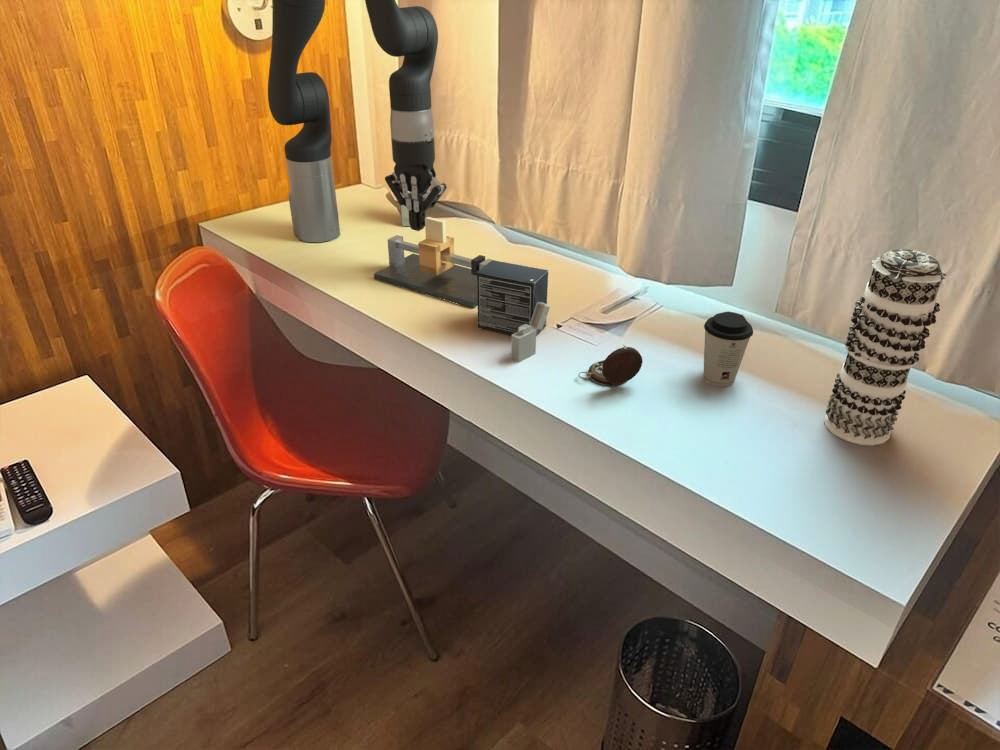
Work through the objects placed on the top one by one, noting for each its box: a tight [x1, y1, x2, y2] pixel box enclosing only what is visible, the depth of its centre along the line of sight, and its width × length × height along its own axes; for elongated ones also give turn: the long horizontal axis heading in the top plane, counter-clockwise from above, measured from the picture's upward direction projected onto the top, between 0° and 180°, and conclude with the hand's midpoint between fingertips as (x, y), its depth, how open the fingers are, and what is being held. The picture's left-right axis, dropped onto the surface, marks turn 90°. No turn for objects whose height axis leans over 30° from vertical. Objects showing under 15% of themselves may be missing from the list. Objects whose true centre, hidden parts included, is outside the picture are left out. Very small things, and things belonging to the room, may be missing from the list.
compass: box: [578, 344, 644, 387], centre depth 107 cm, size 8×8×7 cm
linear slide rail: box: [373, 234, 493, 309], centre depth 137 cm, size 23×12×7 cm, turn 58°
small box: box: [476, 259, 549, 337], centre depth 121 cm, size 11×6×10 cm, turn 65°
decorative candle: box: [823, 248, 947, 447], centre depth 93 cm, size 9×9×25 cm
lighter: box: [510, 302, 551, 363], centre depth 114 cm, size 7×2×8 cm, turn 135°
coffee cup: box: [702, 311, 754, 387], centre depth 107 cm, size 7×7×10 cm
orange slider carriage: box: [417, 216, 455, 275], centre depth 135 cm, size 4×6×10 cm
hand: (417, 229), depth 136 cm, fingers closed
